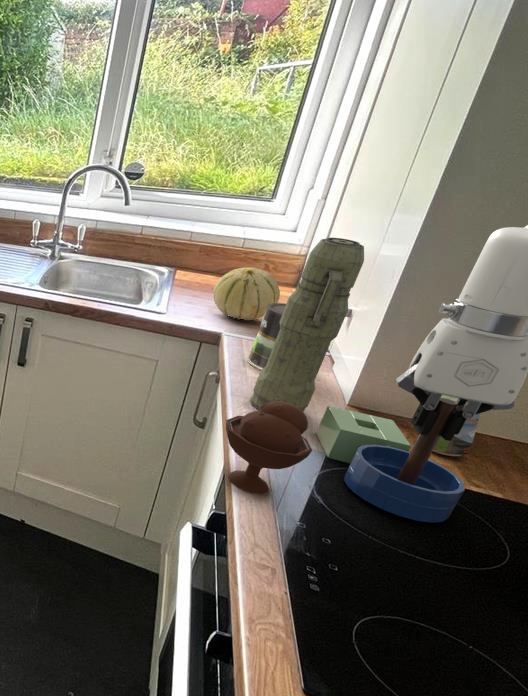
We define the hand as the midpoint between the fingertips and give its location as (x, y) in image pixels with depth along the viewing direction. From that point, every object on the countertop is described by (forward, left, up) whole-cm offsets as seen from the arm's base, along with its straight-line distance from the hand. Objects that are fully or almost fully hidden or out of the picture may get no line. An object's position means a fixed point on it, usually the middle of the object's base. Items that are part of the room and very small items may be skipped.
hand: (431, 432), depth 86 cm
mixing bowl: (0, -2, -13) cm, 14 cm away
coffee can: (+9, -50, -14) cm, 52 cm away
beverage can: (-12, -25, -14) cm, 31 cm away
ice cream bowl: (+20, +6, -14) cm, 25 cm away
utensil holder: (+2, -15, -13) cm, 20 cm away
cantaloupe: (+13, -83, -14) cm, 85 cm away
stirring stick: (0, 0, -11) cm, 11 cm away
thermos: (+12, -27, -14) cm, 32 cm away
